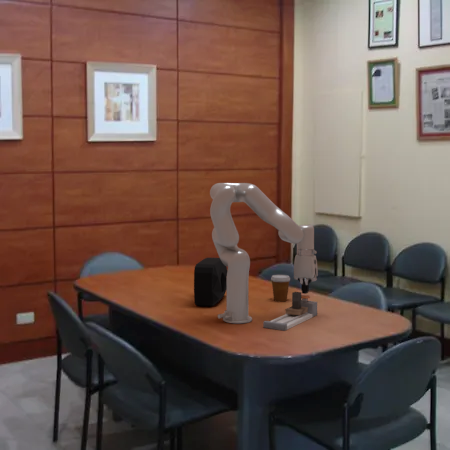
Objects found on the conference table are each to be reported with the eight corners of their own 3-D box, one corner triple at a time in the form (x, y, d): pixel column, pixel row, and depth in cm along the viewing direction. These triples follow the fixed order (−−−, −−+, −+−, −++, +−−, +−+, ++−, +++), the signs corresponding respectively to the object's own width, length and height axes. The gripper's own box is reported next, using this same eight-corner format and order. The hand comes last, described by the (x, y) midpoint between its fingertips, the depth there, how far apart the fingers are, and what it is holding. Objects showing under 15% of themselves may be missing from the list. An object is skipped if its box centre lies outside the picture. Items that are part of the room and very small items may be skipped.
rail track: (284, 330, 292) (284, 316, 292) (263, 327, 298) (263, 313, 297) (317, 314, 320) (317, 301, 319) (297, 312, 325) (297, 299, 324)
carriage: (299, 315, 308) (300, 295, 307) (285, 313, 311) (285, 293, 310) (307, 311, 314) (308, 291, 313) (293, 309, 318) (293, 290, 317)
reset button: (307, 302, 316) (307, 297, 316) (298, 301, 319) (298, 296, 318) (311, 300, 320) (311, 295, 320) (302, 299, 322) (302, 294, 322)
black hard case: (208, 294, 364) (207, 255, 362) (231, 295, 362) (231, 256, 359) (193, 307, 335) (193, 265, 332) (219, 308, 332) (218, 266, 330)
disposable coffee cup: (274, 303, 344) (274, 278, 343) (268, 298, 353) (268, 275, 352) (292, 301, 347) (293, 277, 345) (286, 297, 356) (286, 274, 354)
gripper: (324, 252, 316) (323, 293, 318) (293, 250, 324) (293, 289, 326) (317, 255, 310) (316, 296, 312) (286, 252, 318) (286, 292, 320)
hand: (305, 293), depth 319 cm, fingers closed
